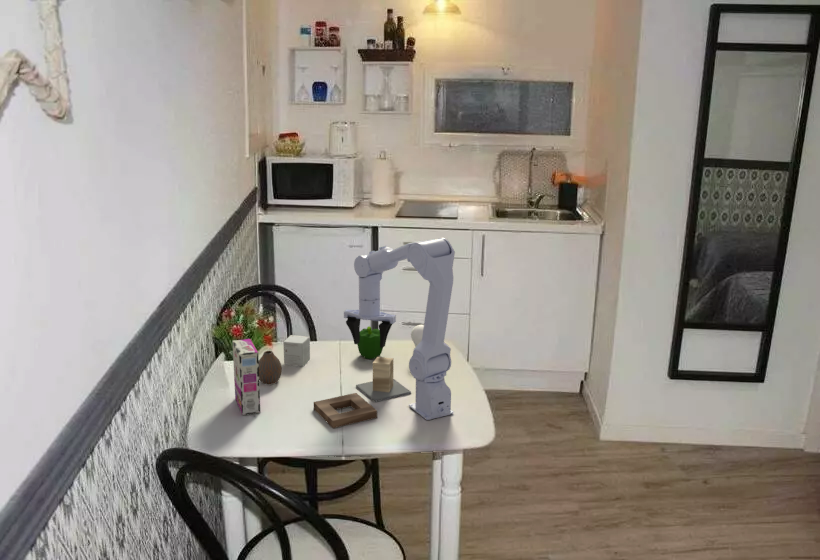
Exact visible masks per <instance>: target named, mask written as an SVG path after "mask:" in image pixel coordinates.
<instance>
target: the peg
mask: <svg viewBox="0 0 820 560" xmlns="http://www.w3.org/2000/svg"><path fill="white" fill-rule="evenodd" d="M373 360H374V361H372V381H373V391H381V392H390V390H391V389H392V387H393V379H394V358H392V357H385V356H377V357H376V358H374V359H373Z"/></svg>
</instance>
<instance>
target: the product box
mask: <svg viewBox="0 0 820 560" xmlns="http://www.w3.org/2000/svg"><path fill="white" fill-rule="evenodd" d="M310 342H311V338H310V336H303V335H295V334H291V335H288V337H287V338H286V339H285V340H284V341H283V365H285V366H295V367H304V366H306V364H307V363H308V362H309V361H310V359H311V344H310Z"/></svg>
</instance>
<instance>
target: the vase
mask: <svg viewBox="0 0 820 560" xmlns="http://www.w3.org/2000/svg"><path fill="white" fill-rule="evenodd" d="M282 371H283V367H282V363H281V361H280V359H279V358H278V357H277V356H276V355H275V354H274V352H273V350H266V351H264V352H263V354H262V356H261V357H259V382H261V383H262V384H264V385H274V384H276V383H277V382H279V381H280V379H281V378H282V373H283V372H282Z"/></svg>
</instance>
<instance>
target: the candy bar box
mask: <svg viewBox="0 0 820 560" xmlns="http://www.w3.org/2000/svg"><path fill="white" fill-rule="evenodd" d="M232 359H233V377H234V382H233V383H234V399H235V401H236V404H237V406H238V408H239V412H240V413H241V416H248V415H247V414H249V415H256V414H260V413H261V394H260V391H261V390H260V388H261V387H260V380H259V360H260V357H259V352H258V350H257V348H256V347H255V345H254V343H253V341H252V339H251V338H244V339H238V340H237V339H235V340H232ZM255 413H256V414H255Z"/></svg>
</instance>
